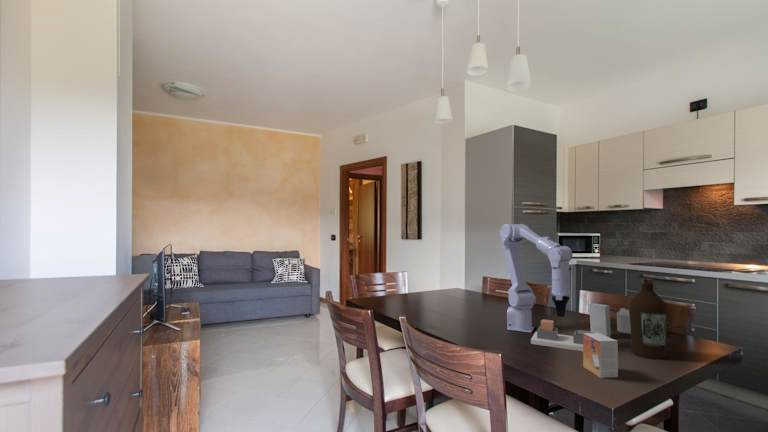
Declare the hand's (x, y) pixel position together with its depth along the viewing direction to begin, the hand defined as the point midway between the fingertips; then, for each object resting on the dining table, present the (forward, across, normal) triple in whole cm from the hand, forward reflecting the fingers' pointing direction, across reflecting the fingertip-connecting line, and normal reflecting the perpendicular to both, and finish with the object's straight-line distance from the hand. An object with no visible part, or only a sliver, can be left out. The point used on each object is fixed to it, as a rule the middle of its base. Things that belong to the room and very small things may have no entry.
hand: (560, 316), depth 138 cm
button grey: (+8, 0, -7) cm, 11 cm away
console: (+10, 0, -1) cm, 10 cm away
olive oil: (+10, 0, -26) cm, 28 cm away
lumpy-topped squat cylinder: (+10, +32, -25) cm, 41 cm away
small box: (+10, -24, -12) cm, 29 cm away
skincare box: (+10, +17, -13) cm, 23 cm away
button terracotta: (+6, 0, +5) cm, 7 cm away
